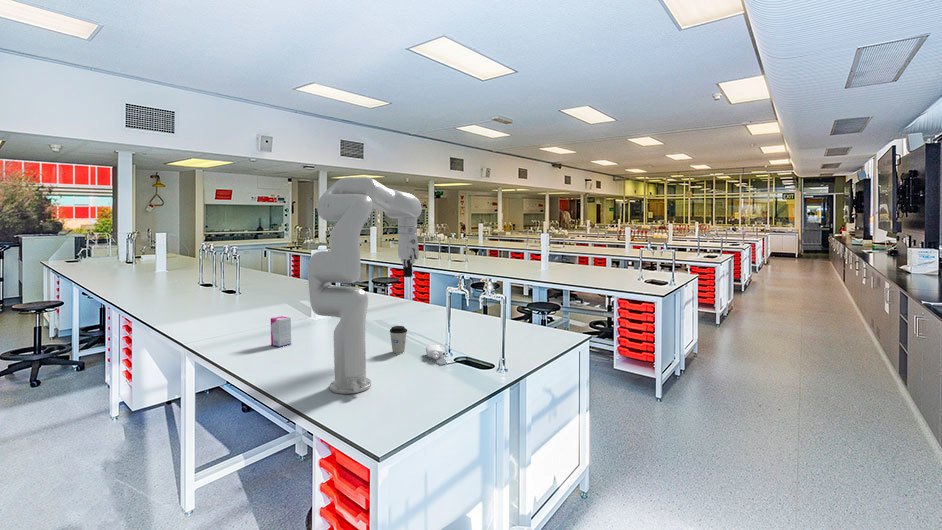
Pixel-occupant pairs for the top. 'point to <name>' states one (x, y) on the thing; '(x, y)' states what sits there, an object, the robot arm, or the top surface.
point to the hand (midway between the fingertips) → (407, 276)
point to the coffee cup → (398, 338)
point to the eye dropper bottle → (433, 351)
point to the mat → (438, 360)
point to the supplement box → (280, 331)
